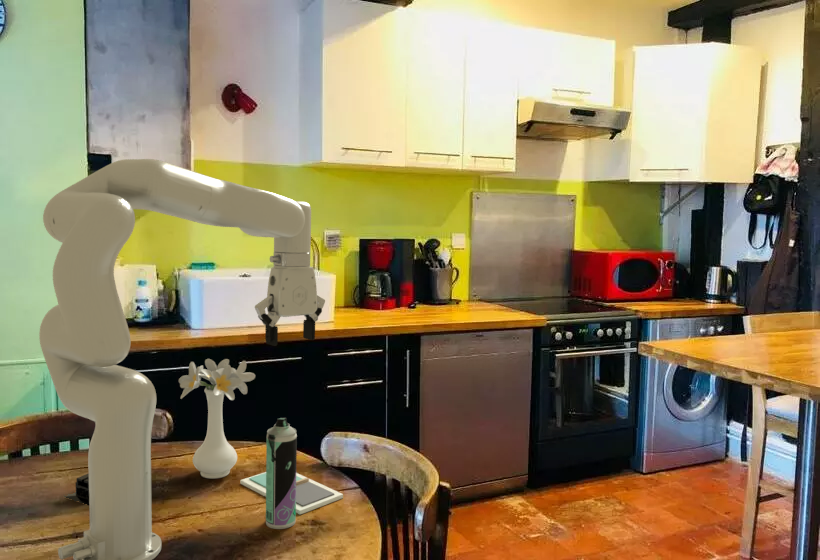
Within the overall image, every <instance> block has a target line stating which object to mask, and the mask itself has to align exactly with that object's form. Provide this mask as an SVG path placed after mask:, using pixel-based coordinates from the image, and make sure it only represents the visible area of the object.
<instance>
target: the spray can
mask: <svg viewBox="0 0 820 560" xmlns="http://www.w3.org/2000/svg"><path fill="white" fill-rule="evenodd" d="M290 425H291V424H290V423H288V420H287V417H284V416H283V417H280V418H276V422H275V424H274V425H273V427H270V428H268V429H267V431H266V443H265V444H266V447H265V449H266V451H265V452H266V458H265V459H266V461H265V469H266V470H265V472H266V497H265V525H266V527H268V528H270V529H275V530H284V529H288V528H291V527H293V526H294V525H295V524H296V520H297V519H296V518H297V516H296V515H297V513H296V473H297V458H298V457H297V453H298V452H297V448H298V447H297V445H298V440H297V439H298V438H297V437H298V435H297V429H296V428H294V427H292V426H290Z"/></svg>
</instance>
